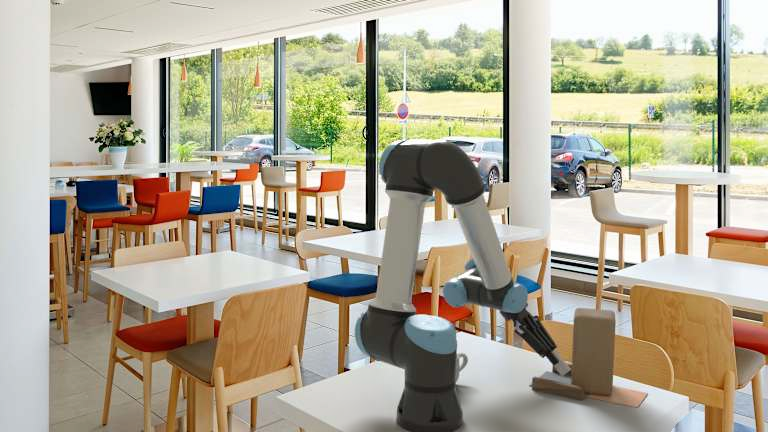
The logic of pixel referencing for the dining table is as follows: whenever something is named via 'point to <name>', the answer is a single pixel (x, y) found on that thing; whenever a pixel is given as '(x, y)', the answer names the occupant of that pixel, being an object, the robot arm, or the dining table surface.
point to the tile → (622, 397)
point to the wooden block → (593, 350)
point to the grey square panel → (558, 379)
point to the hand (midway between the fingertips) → (566, 372)
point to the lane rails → (558, 386)
